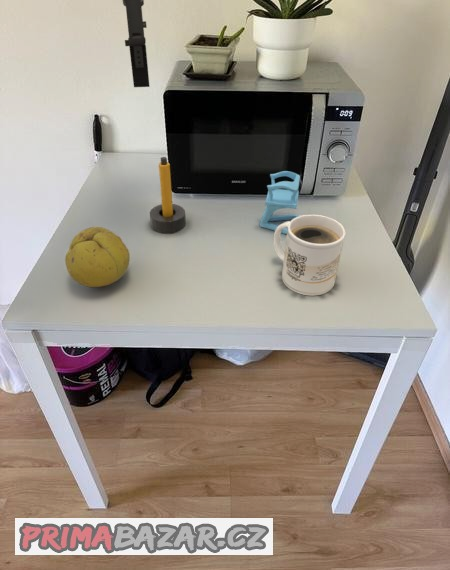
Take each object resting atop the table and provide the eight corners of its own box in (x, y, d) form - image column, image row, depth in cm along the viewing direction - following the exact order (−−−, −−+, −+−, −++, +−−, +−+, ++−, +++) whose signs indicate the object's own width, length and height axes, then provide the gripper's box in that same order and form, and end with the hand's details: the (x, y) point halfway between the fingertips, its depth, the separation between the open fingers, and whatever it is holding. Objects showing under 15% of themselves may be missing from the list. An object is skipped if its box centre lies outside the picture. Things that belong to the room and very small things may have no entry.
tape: (151, 235, 93) (150, 223, 91) (150, 216, 99) (148, 204, 97) (187, 232, 94) (186, 220, 92) (183, 214, 100) (183, 202, 98)
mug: (285, 298, 78) (292, 247, 71) (270, 259, 87) (274, 209, 80) (342, 293, 80) (354, 242, 73) (321, 254, 89) (330, 206, 82)
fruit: (138, 262, 86) (132, 218, 79) (124, 302, 77) (116, 256, 70) (82, 259, 86) (72, 215, 80) (61, 299, 77) (47, 253, 71)
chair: (262, 214, 101) (266, 164, 93) (299, 218, 99) (306, 168, 92) (257, 232, 95) (261, 180, 87) (296, 236, 94) (304, 185, 86)
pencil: (164, 226, 96) (158, 160, 86) (163, 221, 97) (157, 156, 88) (174, 225, 96) (169, 160, 86) (173, 220, 98) (168, 155, 88)
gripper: (153, -67, 60) (165, 95, 74) (147, -71, 79) (157, 59, 93) (97, -68, 59) (119, 97, 73) (104, -72, 78) (121, 59, 92)
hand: (140, 76), depth 83 cm, fingers open, 13 cm apart
